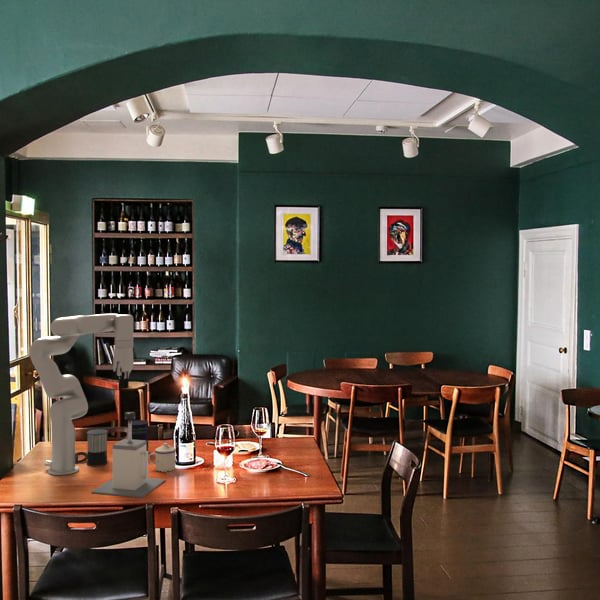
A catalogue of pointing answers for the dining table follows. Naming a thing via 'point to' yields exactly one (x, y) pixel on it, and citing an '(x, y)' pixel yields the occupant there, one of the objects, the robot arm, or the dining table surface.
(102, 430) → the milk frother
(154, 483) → the slate mat
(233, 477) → the dining table surface
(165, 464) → the teacup with lid
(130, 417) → the plunger
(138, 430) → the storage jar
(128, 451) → the box
